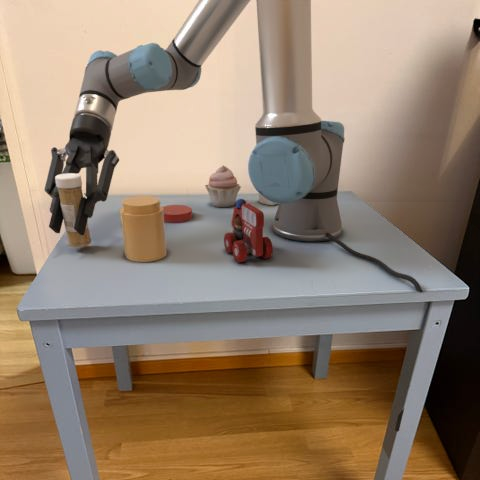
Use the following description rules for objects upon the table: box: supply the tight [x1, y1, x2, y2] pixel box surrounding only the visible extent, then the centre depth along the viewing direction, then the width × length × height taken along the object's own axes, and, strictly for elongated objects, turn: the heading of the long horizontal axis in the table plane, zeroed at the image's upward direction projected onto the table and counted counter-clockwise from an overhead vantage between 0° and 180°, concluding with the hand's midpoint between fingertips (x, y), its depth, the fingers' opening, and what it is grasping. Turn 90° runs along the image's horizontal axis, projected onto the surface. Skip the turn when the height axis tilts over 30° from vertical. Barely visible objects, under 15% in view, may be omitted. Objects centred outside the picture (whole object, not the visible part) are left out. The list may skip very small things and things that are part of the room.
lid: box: [162, 204, 193, 224], centre depth 109 cm, size 8×8×2 cm
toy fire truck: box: [223, 198, 274, 263], centre depth 87 cm, size 7×12×10 cm, turn 22°
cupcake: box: [204, 165, 242, 208], centre depth 117 cm, size 9×9×10 cm
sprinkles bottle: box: [55, 173, 92, 248], centre depth 87 cm, size 5×5×14 cm
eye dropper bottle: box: [257, 192, 279, 206], centre depth 118 cm, size 4×6×12 cm
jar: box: [119, 195, 168, 263], centre depth 86 cm, size 8×8×11 cm
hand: (66, 230), depth 85 cm, fingers closed on sprinkles bottle, 4 cm apart
